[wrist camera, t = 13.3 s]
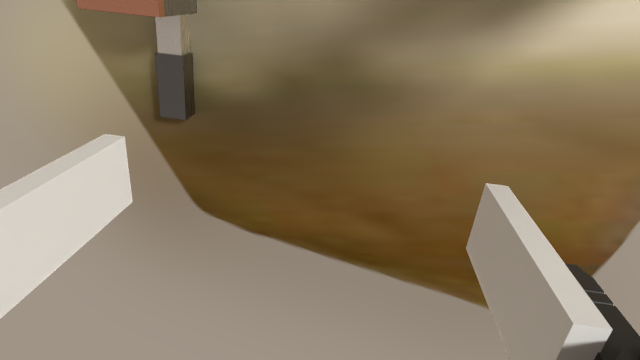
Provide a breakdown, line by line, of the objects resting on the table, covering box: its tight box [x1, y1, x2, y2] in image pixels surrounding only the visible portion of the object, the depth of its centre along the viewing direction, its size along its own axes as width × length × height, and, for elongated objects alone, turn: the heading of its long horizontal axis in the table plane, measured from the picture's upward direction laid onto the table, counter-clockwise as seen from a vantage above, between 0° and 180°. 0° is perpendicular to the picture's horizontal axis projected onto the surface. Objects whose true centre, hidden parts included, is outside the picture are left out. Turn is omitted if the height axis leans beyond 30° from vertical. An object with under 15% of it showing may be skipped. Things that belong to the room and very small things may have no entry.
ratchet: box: [155, 14, 195, 120], centre depth 40 cm, size 18×6×8 cm, turn 175°
